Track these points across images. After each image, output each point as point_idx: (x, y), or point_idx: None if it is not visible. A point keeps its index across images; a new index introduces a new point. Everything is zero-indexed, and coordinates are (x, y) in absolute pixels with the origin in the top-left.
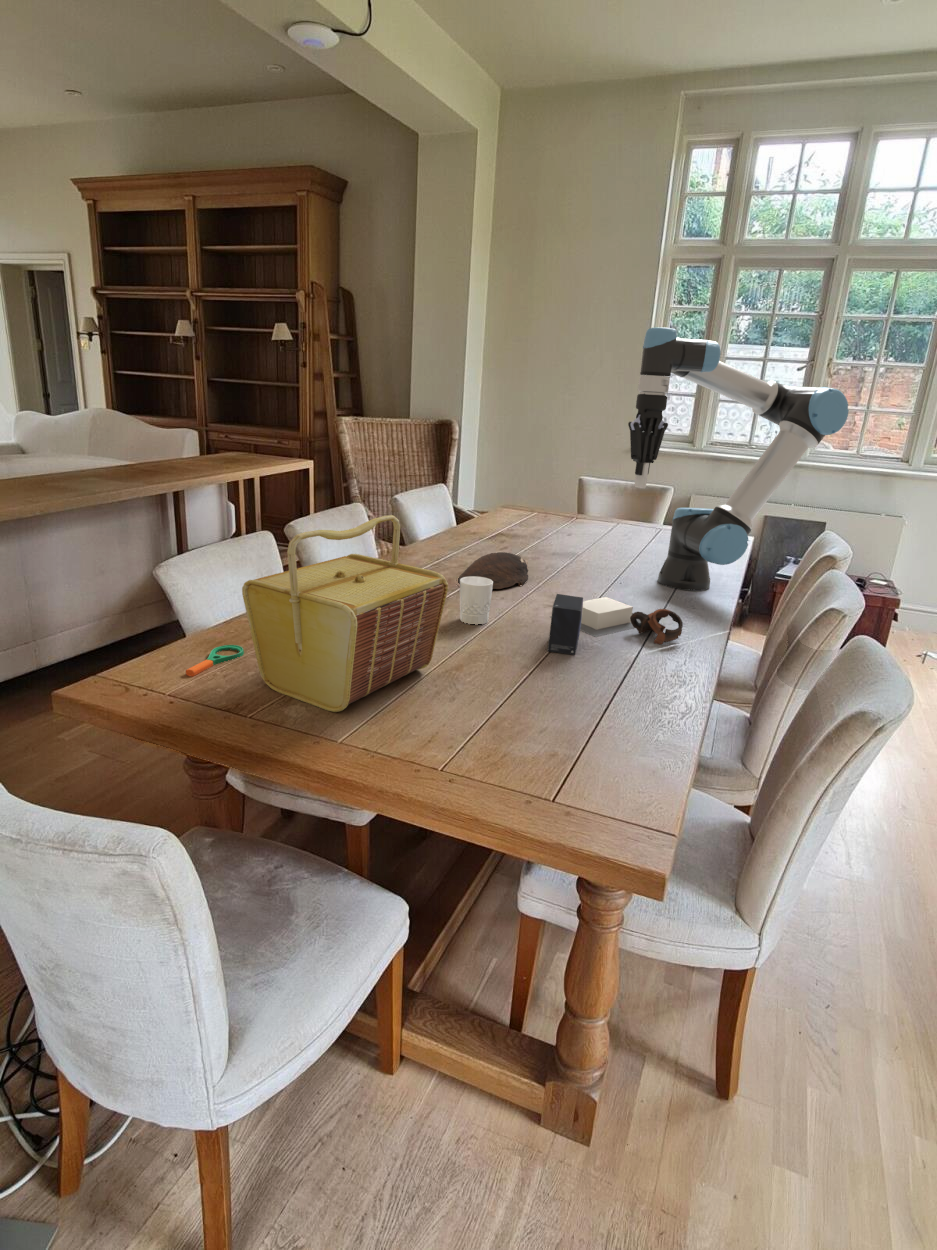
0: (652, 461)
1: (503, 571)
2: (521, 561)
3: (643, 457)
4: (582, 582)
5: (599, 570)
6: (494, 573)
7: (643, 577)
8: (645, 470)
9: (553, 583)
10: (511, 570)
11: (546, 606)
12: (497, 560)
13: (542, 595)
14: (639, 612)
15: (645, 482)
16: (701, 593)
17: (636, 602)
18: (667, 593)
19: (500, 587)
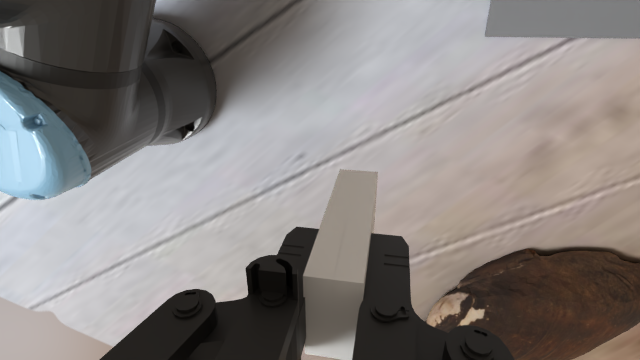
0: (276, 266)
1: (575, 292)
2: (483, 312)
3: (401, 343)
4: (376, 202)
5: (268, 240)
6: (602, 295)
7: (214, 162)
8: (355, 237)
9: (443, 227)
10: (546, 289)
11: (631, 116)
12: (551, 334)
13: (552, 180)
14: None
15: (346, 186)
16: (173, 2)
17: (392, 28)
18: (256, 45)
19: (605, 254)
